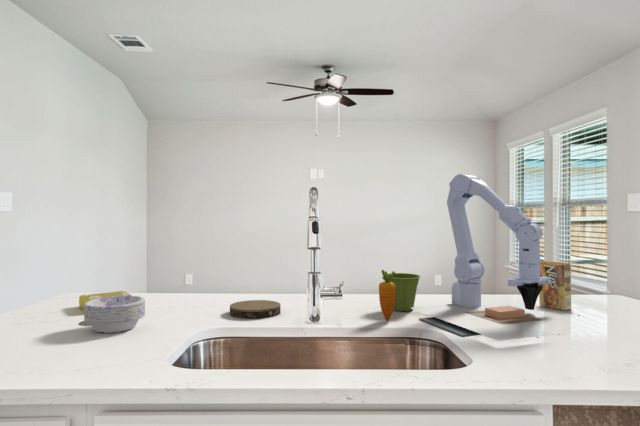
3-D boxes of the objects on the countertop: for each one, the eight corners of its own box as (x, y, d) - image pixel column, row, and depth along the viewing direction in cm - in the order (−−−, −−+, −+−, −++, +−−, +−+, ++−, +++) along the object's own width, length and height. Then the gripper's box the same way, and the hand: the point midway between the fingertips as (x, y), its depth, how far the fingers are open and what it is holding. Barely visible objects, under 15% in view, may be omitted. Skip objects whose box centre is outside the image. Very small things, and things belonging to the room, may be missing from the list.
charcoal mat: (419, 319, 133) (419, 318, 133) (458, 315, 138) (458, 314, 138) (462, 336, 115) (462, 335, 115) (506, 331, 119) (506, 330, 119)
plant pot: (380, 312, 144) (379, 276, 144) (388, 305, 155) (388, 272, 155) (417, 315, 140) (417, 278, 140) (423, 307, 151) (423, 274, 151)
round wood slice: (274, 307, 153) (274, 298, 153) (285, 317, 138) (285, 307, 138) (227, 310, 148) (227, 301, 148) (232, 321, 133) (232, 311, 133)
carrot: (397, 319, 134) (397, 268, 134) (394, 323, 129) (394, 270, 129) (380, 318, 135) (380, 268, 135) (377, 322, 131) (377, 270, 131)
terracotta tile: (485, 314, 133) (485, 307, 133) (509, 312, 136) (509, 305, 136) (499, 319, 127) (499, 312, 127) (524, 316, 130) (524, 309, 130)
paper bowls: (84, 339, 113) (83, 307, 113) (84, 326, 127) (84, 298, 127) (148, 332, 120) (148, 302, 120) (142, 320, 134) (142, 293, 134)
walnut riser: (464, 317, 136) (464, 312, 136) (501, 313, 141) (501, 308, 141) (502, 329, 121) (502, 324, 121) (542, 325, 126) (542, 319, 126)
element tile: (135, 309, 151) (135, 295, 151) (85, 316, 142) (85, 300, 142) (125, 302, 163) (124, 289, 163) (78, 308, 154) (78, 294, 154)
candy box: (571, 309, 148) (571, 262, 148) (564, 310, 145) (564, 263, 145) (545, 304, 155) (545, 260, 155) (538, 306, 153) (538, 260, 153)
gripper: (520, 266, 129) (520, 313, 129) (559, 264, 134) (559, 309, 134) (502, 263, 135) (502, 308, 135) (539, 261, 140) (540, 305, 140)
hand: (529, 309), depth 135 cm, fingers closed
